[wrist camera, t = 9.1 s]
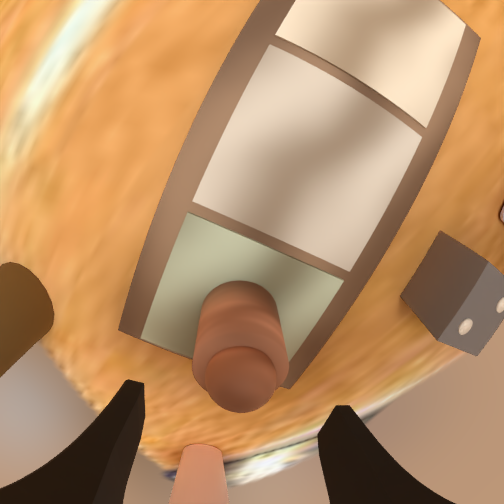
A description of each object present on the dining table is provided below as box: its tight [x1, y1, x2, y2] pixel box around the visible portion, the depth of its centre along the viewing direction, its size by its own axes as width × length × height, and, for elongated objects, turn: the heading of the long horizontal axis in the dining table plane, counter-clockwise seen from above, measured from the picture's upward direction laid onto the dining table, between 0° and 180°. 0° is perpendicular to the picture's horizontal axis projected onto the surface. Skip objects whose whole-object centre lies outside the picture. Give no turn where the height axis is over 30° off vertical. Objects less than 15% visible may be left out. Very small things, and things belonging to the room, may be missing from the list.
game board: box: [118, 0, 481, 389], centre depth 14 cm, size 12×27×1 cm, turn 155°
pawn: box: [192, 280, 289, 413], centre depth 14 cm, size 4×4×6 cm
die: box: [400, 231, 504, 356], centre depth 16 cm, size 5×5×5 cm
